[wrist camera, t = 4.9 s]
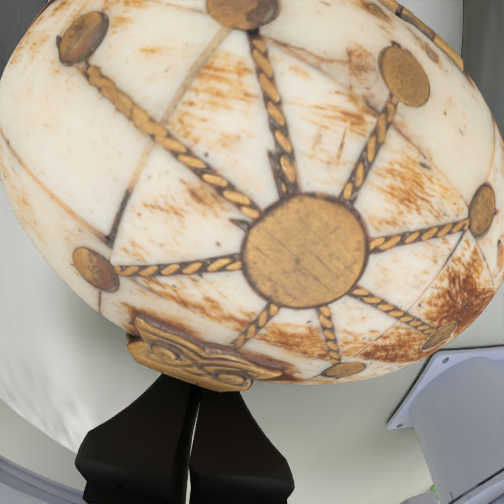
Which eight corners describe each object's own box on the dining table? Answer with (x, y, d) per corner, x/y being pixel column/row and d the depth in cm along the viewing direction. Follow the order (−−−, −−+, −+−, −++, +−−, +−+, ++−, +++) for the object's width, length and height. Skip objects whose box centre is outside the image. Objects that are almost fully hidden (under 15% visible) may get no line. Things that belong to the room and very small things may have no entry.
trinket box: (72, 27, 9) (-72, 0, 2) (432, 8, 8) (568, -30, 1) (122, 307, 15) (58, 439, 8) (421, 288, 14) (500, 406, 7)
